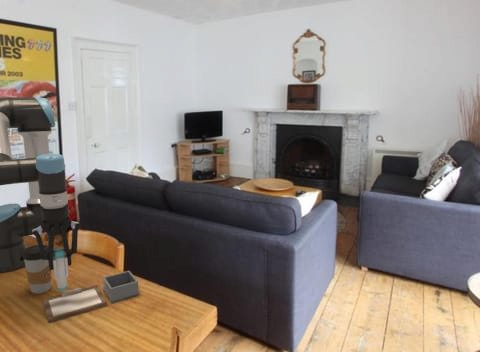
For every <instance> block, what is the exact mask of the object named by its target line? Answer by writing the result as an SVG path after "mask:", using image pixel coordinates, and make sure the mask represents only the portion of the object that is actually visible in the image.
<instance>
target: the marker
mask: <svg viewBox="0 0 480 352" xmlns="http://www.w3.org/2000/svg"><path fill="white" fill-rule="evenodd" d="M65 255H66V253H65V249H64V247H59V248H56V249H55V248H54V251H53V257H54V259H55V260H56V266H57V276H58V280H55V281H56V282H55V283H56V291H58V292H59V291H60V292H64V291H65V290H66V291H67V289H68V288H69V286H68V277H66V270H65V259H64V258H65Z"/></svg>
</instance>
